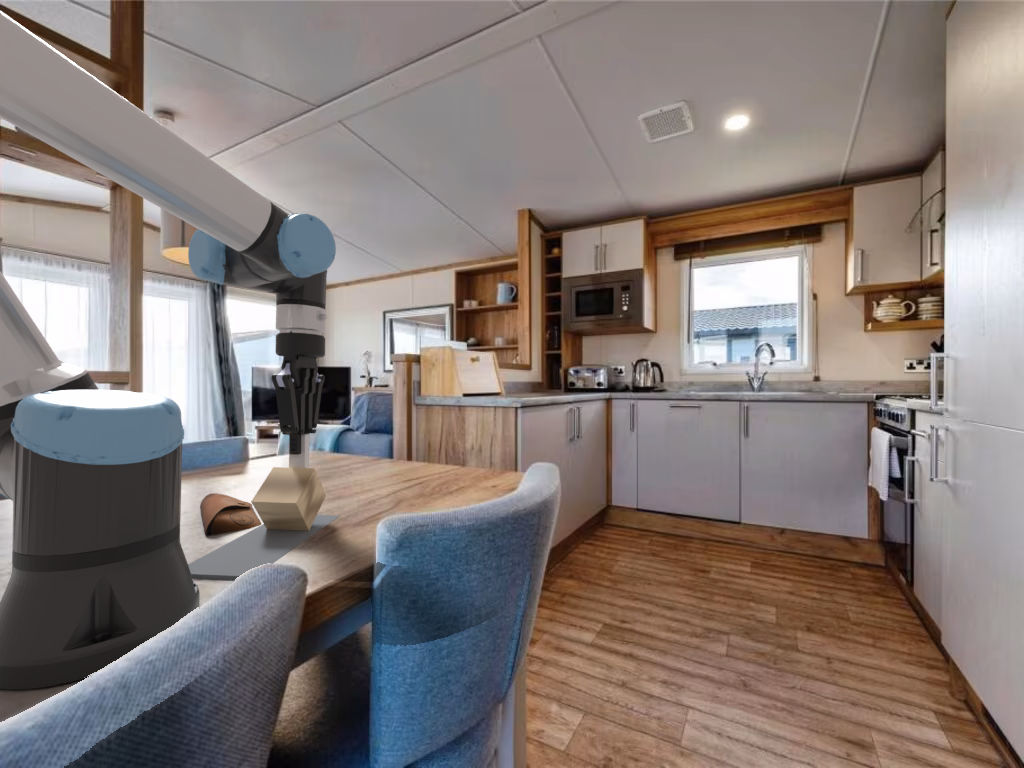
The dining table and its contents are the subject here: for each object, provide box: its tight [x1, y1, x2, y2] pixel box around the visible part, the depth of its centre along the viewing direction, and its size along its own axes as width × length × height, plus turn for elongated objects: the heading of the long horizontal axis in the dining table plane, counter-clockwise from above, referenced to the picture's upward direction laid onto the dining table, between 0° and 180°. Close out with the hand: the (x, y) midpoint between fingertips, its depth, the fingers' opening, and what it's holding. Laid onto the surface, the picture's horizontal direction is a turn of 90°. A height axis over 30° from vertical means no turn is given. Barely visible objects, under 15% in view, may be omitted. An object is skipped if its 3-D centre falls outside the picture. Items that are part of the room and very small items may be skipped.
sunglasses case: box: [199, 492, 262, 537], centre depth 76 cm, size 18×7×7 cm, turn 39°
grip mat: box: [188, 514, 340, 582], centre depth 66 cm, size 24×10×1 cm, turn 178°
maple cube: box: [250, 466, 327, 531], centre depth 71 cm, size 7×7×7 cm
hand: (298, 472), depth 73 cm, fingers closed
